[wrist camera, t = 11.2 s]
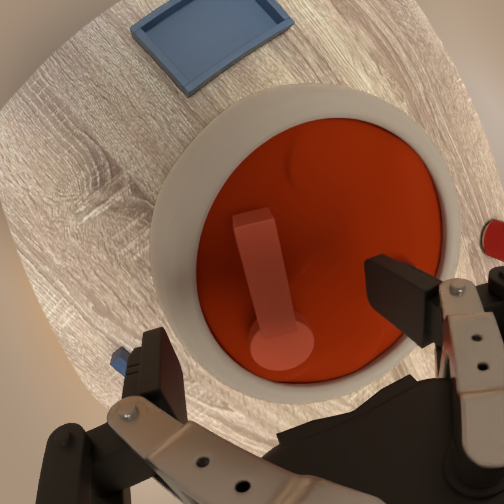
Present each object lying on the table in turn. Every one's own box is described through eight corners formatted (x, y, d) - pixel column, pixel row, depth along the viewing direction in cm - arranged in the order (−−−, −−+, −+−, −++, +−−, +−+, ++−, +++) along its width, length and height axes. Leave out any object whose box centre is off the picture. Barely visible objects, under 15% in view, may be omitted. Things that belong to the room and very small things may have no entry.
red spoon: (214, 219, 16) (212, 233, 14) (285, 202, 16) (294, 212, 14) (256, 364, 19) (259, 388, 17) (313, 350, 19) (322, 373, 17)
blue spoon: (107, 357, 35) (104, 368, 33) (126, 342, 35) (124, 352, 33) (159, 401, 38) (159, 412, 36) (179, 388, 39) (180, 398, 36)
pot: (364, 298, 41) (454, 370, 24) (178, 334, 36) (189, 454, 20) (362, 108, 34) (480, 92, 17) (146, 118, 29) (112, 75, 12)
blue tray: (132, 36, 26) (129, 27, 24) (233, -26, 26) (238, -37, 24) (188, 97, 29) (188, 93, 27) (287, 30, 29) (295, 22, 27)
